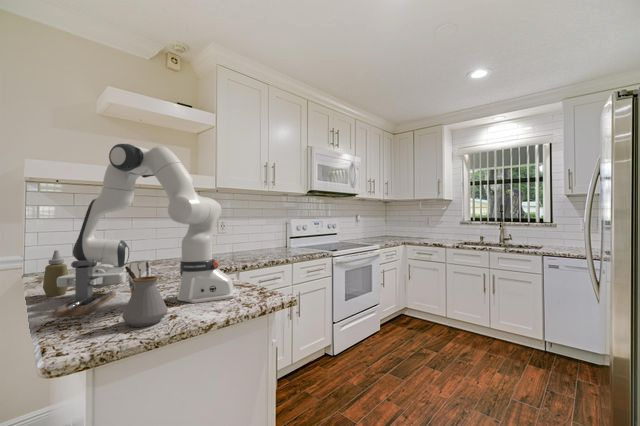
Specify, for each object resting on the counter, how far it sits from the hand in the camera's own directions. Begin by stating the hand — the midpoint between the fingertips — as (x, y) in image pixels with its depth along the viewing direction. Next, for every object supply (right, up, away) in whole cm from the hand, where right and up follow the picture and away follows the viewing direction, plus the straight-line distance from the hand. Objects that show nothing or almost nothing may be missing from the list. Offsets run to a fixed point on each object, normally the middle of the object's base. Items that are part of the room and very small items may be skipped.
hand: (82, 283), depth 102 cm
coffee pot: (+26, -8, -12) cm, 30 cm away
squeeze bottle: (-26, -9, +19) cm, 34 cm away
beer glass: (+16, -9, +5) cm, 19 cm away
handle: (+1, -7, -3) cm, 7 cm away
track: (-1, -9, +4) cm, 9 cm away
